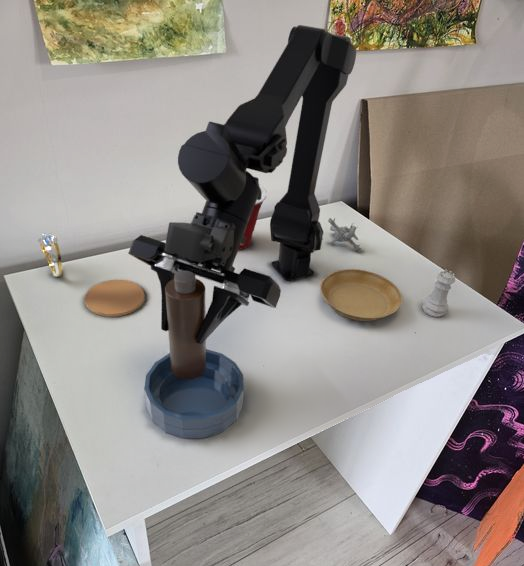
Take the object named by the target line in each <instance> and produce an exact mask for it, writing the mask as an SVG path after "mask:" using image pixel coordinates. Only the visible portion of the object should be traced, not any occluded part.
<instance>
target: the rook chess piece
mask: <svg viewBox="0 0 524 566" xmlns="http://www.w3.org/2000/svg"><path fill="white" fill-rule="evenodd" d="M435 277H436V282H435V283H434V287H433V290H432V292H431V293H430V294H429V295H428V296H427V297H425V299H424V300H423V303H422V305H421V308H422V310H423V312H424V313H425V314H426V315H428V316H431V317H434V318H439V317H443V316H444V315H446V314H447V310H448V307H449V304H448V299H447V298H448V294H449V291H450V290H451V289H452V286H451V285H453V284H455V283H456V279H455V277H456V274H455V273H454V272H453V271H452V270H449V271H448V269H443V270H440V271H439V273H437V274H436V276H435Z"/></svg>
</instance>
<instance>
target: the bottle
mask: <svg viewBox="0 0 524 566" xmlns="http://www.w3.org/2000/svg"><path fill="white" fill-rule="evenodd" d="M165 294H166V307H167V320H168V331H167V333H168V345H169V354H170V359H171V370H172V372H173V374H174V375H175V376H177V377H178V378H181V379H185V380H191V379H195V378H198V377H200V376H201V375H202V374H203V373H204V372H205V370H206V349H207V339H206V340H205V341H204V342H203V343H202V344H198V343H196V340H197V337H198V333H199V330H200V328H201V325H202V323H203V321H204V319H205V316H206V314H207V311H206V285H205V283H204V282H203V281H201V280H200V279H199V278H196V275H195V274H194V273H193V272H191V271H179V272H177V273H176V274H175V275H174V279H173V280H171V281H169V282H168V283H167V285H166V287H165Z"/></svg>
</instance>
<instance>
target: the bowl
mask: <svg viewBox="0 0 524 566" xmlns="http://www.w3.org/2000/svg"><path fill="white" fill-rule="evenodd" d="M144 379H145V380H144V385H143V390H144V391H143V392H144V398H145V407H146V410H147V412H148V415H149V417H150V420H151V421H152V423H153V424H155V425H156V426H157V427H158V428H160V429H161V430H162V432H165V433H166V434H168V435H172V436H175V437H178V438H181V439H205V438H208V437H212V436H214V435H217V434H220V433H223V432H225V431H226V429H228V428H229V427H230V426H231V425H233V424H234V423H235V422H237V420H238V418H239V415H240V414H241V411H242V409H243V406H244V394H245V383H244V381H245V380H244V374H243V372H242V370H241V369H240V368H239V366H238V364H237V362H235V361H234V360H232V359H231V358H229V357H228V356H226V354H224V353H221V352H218V351H214V350H211V349H207V348H206V370H205V372H204V373H203V374H202V375H201V376H200V377H198V378H195V379H191V380H185V379H181V378H178V377H177V376H175V375H174V374H173V372H172V370H171V359H170V353H168V354H166V355H164V356H163V357H161V358H160V359H157V360H156V361H155V362H154V363H153V365H152V366H151V367H150V368H149V370H148V371H147V372H146V374H145V378H144Z"/></svg>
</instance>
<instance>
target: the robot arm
mask: <svg viewBox="0 0 524 566" xmlns="http://www.w3.org/2000/svg"><path fill="white" fill-rule="evenodd" d="M288 34H289V35H288V38H287V44H286V46H285V48H284V49H283V51H282V53H281V54H280V56H279V58H278V59H277V61H276V62H275V65H274V66H273V68H272V70H271V71H270V73H269V74H268V77H266V80H264V81H265V82H264V83H263V85H262V87H261V88H260V90H259V92H258V93H257V95H255V97H254V98H251V99H249V100H248V101H245V102H243V103H241V104H240V105H238V106H237V107H236V108H235V110H234V111H233V112H232V114H230V116H229V117H228V118H227V120H226V121H225V123H218V122H213V121H208V122H207V125H206V129H205V130H203V131H200V132H197V133H195V134H193V135H191V136H190V137H189V138H188V139H187V140H186V141H185V142H184V143H183V144H181V147H180V148H179V151H178V155H177V166H178V169H179V171H180V174H181V175H182V176H183V177H184V178H185V179H186V180H187V182H188V183H190V185H191V186H192V187H193V188H194V189H195V190H196V191H197V193H198V194H199V195H200V196H202V198H203V199H204V200H206V201H205V203H204V206H203V208H202V211H201V212H199V211H196V213H195V214H194V215H193V217H192V220H191V222H190V223H189V222H176V221H175V222H172V221H171V222H169V223H168V227H167V228H168V229H167V233H166V239H165V242H164V241H161V240H158V239H155V238H151V237H149V236H146V235H142V234H140V235H138V237H136V238H135V239H134V240H133V241H132V242H131V245H130V248H129V251H128V253H127V254H129V255H130V256H131V257H133V258H135V259H137V260H138V261H140V262H142V263H144V264H146V265H147V266H150V270H151V271H153V272H155V273H156V276H157V277H158V280H159V285H160V292H161V317H160V318H161V319H160V320H161V321H160V322H161V323H160V324H161V325H160V327H161V328H160V329H161V331H164V332H168V320H167V307H166V294H165V287H166V285H167V283H168V282H169V281H171V280H173V279H174V275H175V274H176V273H177V272H179V271H191V272H193V273H194V274H195V277H196V276H197V277H199V278H202V279H205V280H207V281H208V280H209V281H211V282H215V283H218V284H220V285H222V287H219V286H216V285H213V290H212V298H211V299H212V300H211V302H210V305H209V307H208V309H207V311H206V316H205V319H204V321H203V323H202V325H201V328H200V330H199V333H198V337H197V340H196V343H198V344H202V343H203V342H204V341H205V340H206V341H207V339H208V338H209V337H210V336H211V335H212V333H214V331H216V330H217V328H218V327H219V326H220V325H221V324H222V323H223V322H224V321H225V320H226V319H227V318H228V317H229V316H230V315H232V314H233V313H234V312H235V311H236V310H237V309H239V307H241V306H245V307H248V306H249V305H250V301H248V300H249V298H250V297H251V300H252V301H253V302H254V303H255V302H256V303H258V304H261V305H264V306H267V307H270V308H273V309H276V308H277V306H278V303H279V301H280V297H281V294H282V293H281V292H282V290H281V287H280V285H279V284H278V282H276V281H275V280H274V279H273V278H272V277H271V276H270V275H266V274H263V273H261V272H258V271H254V270H252V269H248V268H245V267H244V268H243V269H242V270H241V271H240V272H239V273H238V272H235V270H236V268H235V266H233V265H234V263H235V261H236V258H237V254H238V251H239V250H238V249H239V246H240V245H243V246H244V243H245V240H246V237H245V236H244V233H245V230H246V228H247V225H248V222H249V219H250V217H251V214H252V211H253V209H254V206H255V203H256V201H257V200H260V199H261V197H262V191H261V189H260V187H259V184H260V181H259V180H260V179H259V177H256V176H253V174H251V173H250V172H249V171H248V170H252V171H255V172H260V173H264V174H272V173H274V171H276V169H277V168H278V167H279V166H281V164H282V163H283V162H284V158H286V156H287V153H288V148H287V146H288V138H287V130H286V129H287V128H286V127H287V124H288V123H289V121H290V118H291V117H292V115H293V113H294V111H295V109H296V108H297V106H298V104H299V102H300V100H301V98H302V102H301V109H300V115H299V119H298V126H297V132H296V138H295V144H294V151H293V156H292V161H291V162H292V163H291V168H290V174H289V181H288V186H287V191H286V192H285V194H284V195H283V196H282V197H281V198H280V200H279V201H278V202H276V204H275V205H274V209H273V212H272V215H271V218H270V222H269V230H270V240H271V242H275V243H279V250H278V251H279V252H278V259H277V260H274V261H271V264H270V265H271V266H272V268H273V269H274V270H275V271H276V272H277V273H278V274H279V275H280V276H281V277H282V279H283V280H284V281H287V282H290V281H294V280H297V279H302V278H305V277H311V276H314V275H315V271H314V270H313V269H312V267H310V265H311V259H312V254H314V253H315V251H320V250H321V249H322V243H323V237H324V230H323V227H322V224H321V222H320V221H319V220H320V213H321V207H320V204H319V202H318V199H317V195H316V194H315V193H316V187H317V181H318V177H319V172H320V166H321V162H322V156H323V151H324V145H325V142H326V136H327V130H328V125H329V120H330V117H331V116H330V115H331V111H332V105H333V102H334V101H335V99H336V98H337V96H339V95H340V93H341V92H342V91H343V89H344V88H345V87H346V86H347V84H348V79H349V75H351V74H352V72H353V69H354V67H355V63H356V58H357V48H356V47H355V46H354V45H353V44H352V41H351V40H352V39H351V38H350V37H349V36H345V35H340V34H334V33H331V32H330V31H327V30H326V29H325V28H321V27H314V26H308V25H302V24H298V25H297V26H293V27H292V28H291V30H290V32H289V33H288ZM247 169H248V170H247Z"/></svg>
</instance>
